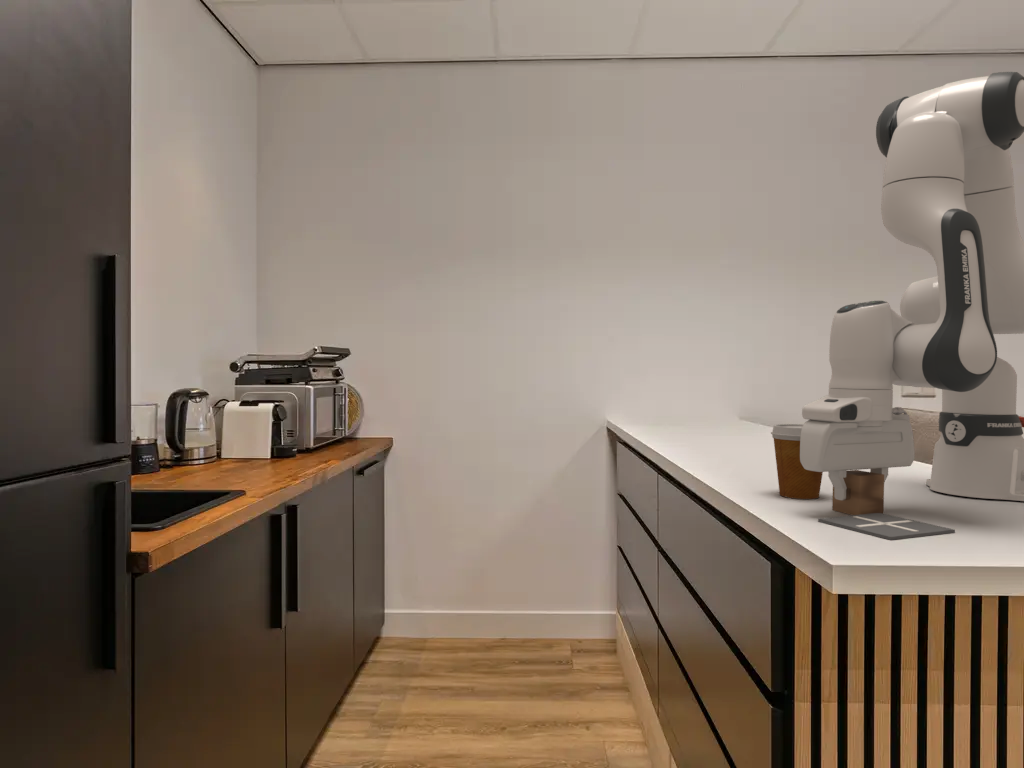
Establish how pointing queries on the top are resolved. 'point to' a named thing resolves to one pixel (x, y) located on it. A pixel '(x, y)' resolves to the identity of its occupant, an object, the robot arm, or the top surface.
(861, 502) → the walnut block
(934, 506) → the top surface
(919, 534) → the pad
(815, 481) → the disposable coffee cup
